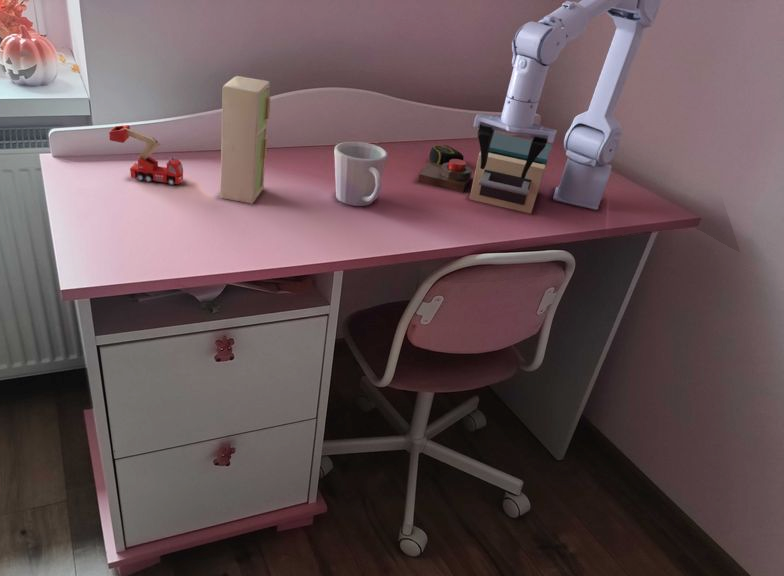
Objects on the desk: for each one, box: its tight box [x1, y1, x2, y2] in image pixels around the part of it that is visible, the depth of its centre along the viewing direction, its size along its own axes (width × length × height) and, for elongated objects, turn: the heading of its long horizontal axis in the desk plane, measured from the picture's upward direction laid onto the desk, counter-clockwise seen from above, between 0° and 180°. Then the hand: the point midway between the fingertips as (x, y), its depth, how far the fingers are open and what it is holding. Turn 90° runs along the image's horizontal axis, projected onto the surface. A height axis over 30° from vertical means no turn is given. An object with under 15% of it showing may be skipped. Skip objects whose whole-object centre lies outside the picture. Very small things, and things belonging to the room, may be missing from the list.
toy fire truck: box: [108, 125, 184, 186], centre depth 130 cm, size 3×14×10 cm, turn 84°
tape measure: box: [428, 144, 465, 165], centre depth 156 cm, size 7×7×4 cm
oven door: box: [469, 150, 547, 214], centre depth 135 cm, size 5×13×11 cm, turn 69°
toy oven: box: [489, 132, 553, 204], centre depth 142 cm, size 11×13×11 cm
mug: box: [333, 141, 388, 207], centre depth 131 cm, size 10×15×10 cm
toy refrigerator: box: [220, 75, 271, 204], centre depth 125 cm, size 8×7×21 cm
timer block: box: [417, 161, 473, 193], centre depth 148 cm, size 10×9×4 cm
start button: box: [448, 159, 467, 172], centre depth 146 cm, size 4×4×2 cm
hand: (502, 172), depth 126 cm, fingers open, 7 cm apart
